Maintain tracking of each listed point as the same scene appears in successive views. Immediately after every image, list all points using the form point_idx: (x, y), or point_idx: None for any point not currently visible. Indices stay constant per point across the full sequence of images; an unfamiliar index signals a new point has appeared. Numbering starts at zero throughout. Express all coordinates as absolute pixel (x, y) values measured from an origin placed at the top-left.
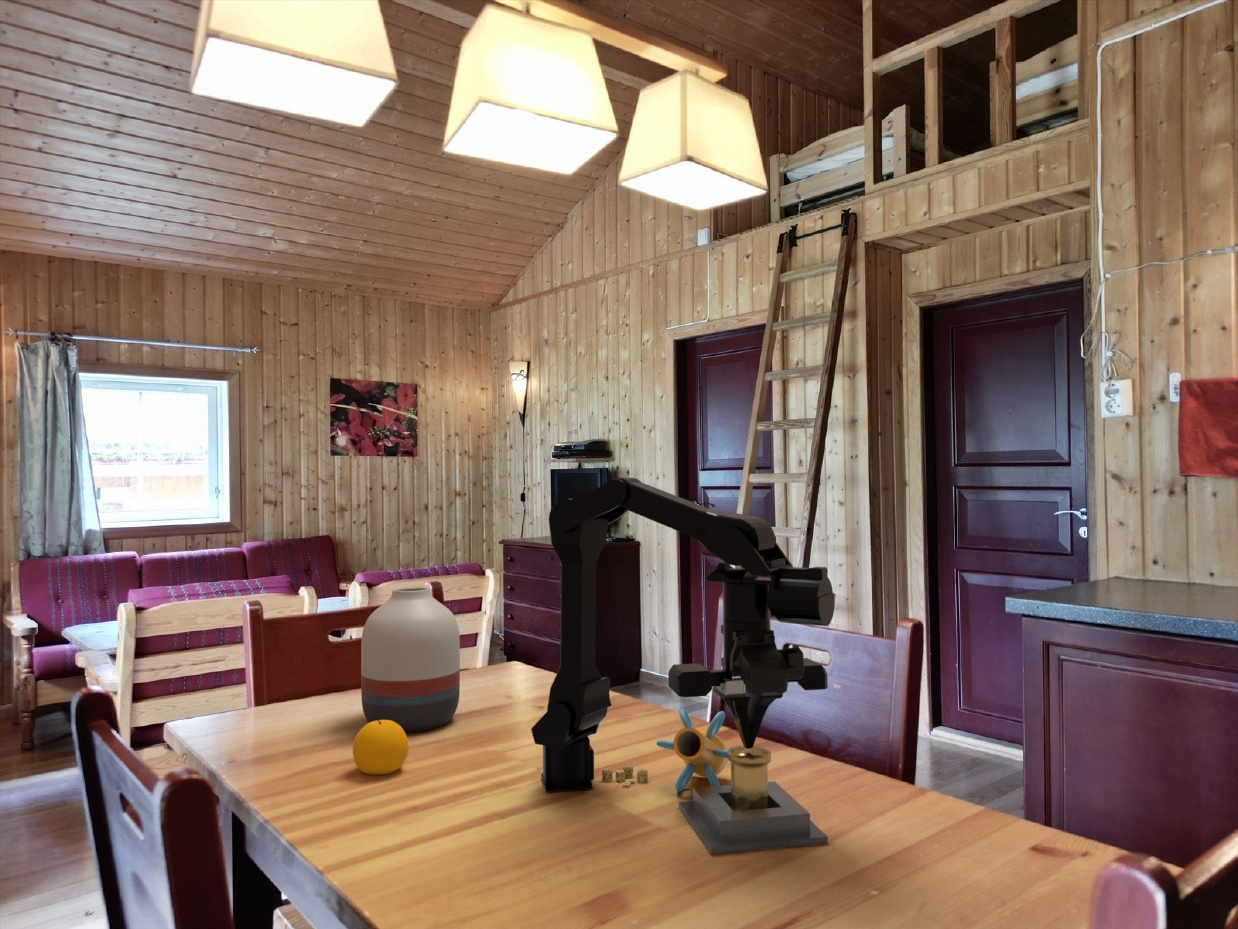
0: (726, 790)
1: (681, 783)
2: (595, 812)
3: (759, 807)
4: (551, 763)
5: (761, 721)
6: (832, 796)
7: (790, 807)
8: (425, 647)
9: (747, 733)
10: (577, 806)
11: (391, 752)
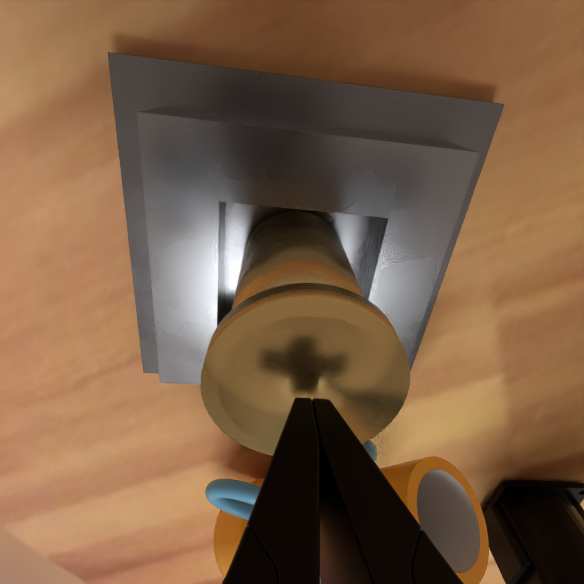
0: None
1: (368, 447)
2: (565, 398)
3: (287, 229)
4: None
5: (248, 534)
6: (7, 350)
7: (188, 190)
8: None
9: (347, 461)
10: (575, 428)
11: None
